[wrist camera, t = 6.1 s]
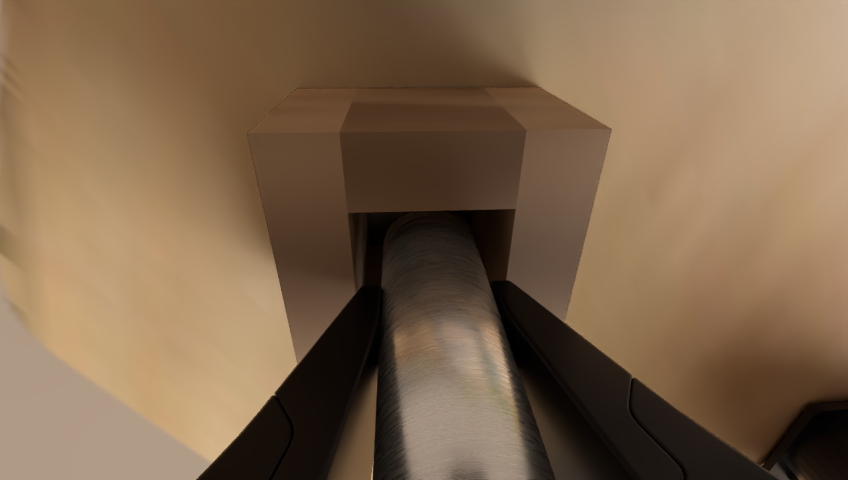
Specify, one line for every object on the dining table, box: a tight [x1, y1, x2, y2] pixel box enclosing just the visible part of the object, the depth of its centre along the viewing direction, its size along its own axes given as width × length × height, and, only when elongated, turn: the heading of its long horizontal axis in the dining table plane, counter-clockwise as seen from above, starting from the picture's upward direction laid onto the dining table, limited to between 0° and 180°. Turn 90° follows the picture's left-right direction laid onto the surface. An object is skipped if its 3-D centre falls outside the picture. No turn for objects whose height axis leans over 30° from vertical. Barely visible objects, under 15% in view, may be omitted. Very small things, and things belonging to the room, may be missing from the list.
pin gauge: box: [373, 210, 556, 480], centre depth 7 cm, size 2×2×8 cm
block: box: [247, 87, 612, 364], centre depth 11 cm, size 7×7×4 cm
